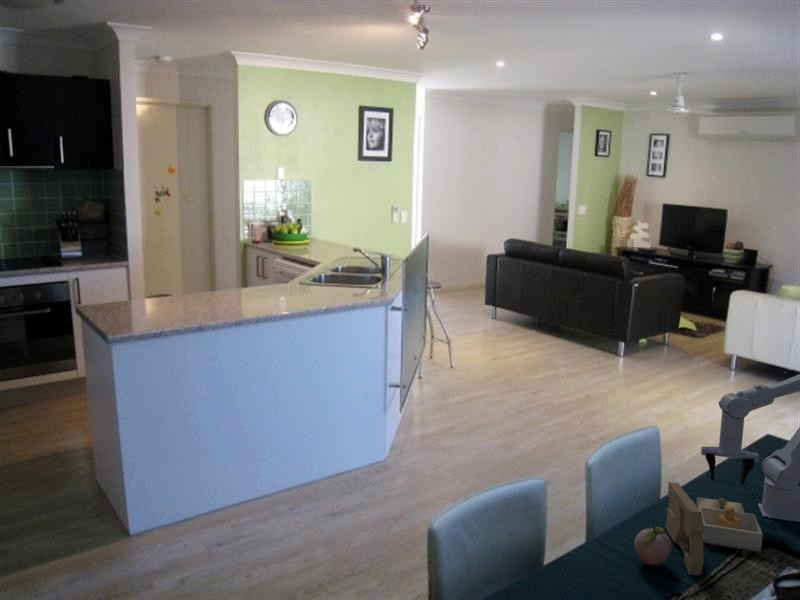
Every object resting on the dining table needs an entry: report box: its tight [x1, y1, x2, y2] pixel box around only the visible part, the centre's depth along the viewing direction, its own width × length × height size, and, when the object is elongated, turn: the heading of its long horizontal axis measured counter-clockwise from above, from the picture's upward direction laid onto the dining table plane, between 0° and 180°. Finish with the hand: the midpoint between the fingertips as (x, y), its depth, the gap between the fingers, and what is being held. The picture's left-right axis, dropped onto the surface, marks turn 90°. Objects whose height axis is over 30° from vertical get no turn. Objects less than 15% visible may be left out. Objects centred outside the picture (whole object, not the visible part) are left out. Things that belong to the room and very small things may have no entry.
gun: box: [664, 481, 704, 576], centre depth 168 cm, size 24×3×15 cm, turn 171°
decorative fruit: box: [633, 526, 673, 567], centre depth 162 cm, size 9×8×10 cm
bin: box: [698, 506, 764, 553], centre depth 175 cm, size 14×11×5 cm
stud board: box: [695, 496, 746, 513], centre depth 188 cm, size 12×12×5 cm
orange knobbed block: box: [716, 506, 741, 529], centre depth 175 cm, size 4×4×8 cm
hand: (726, 481), depth 188 cm, fingers open, 7 cm apart
